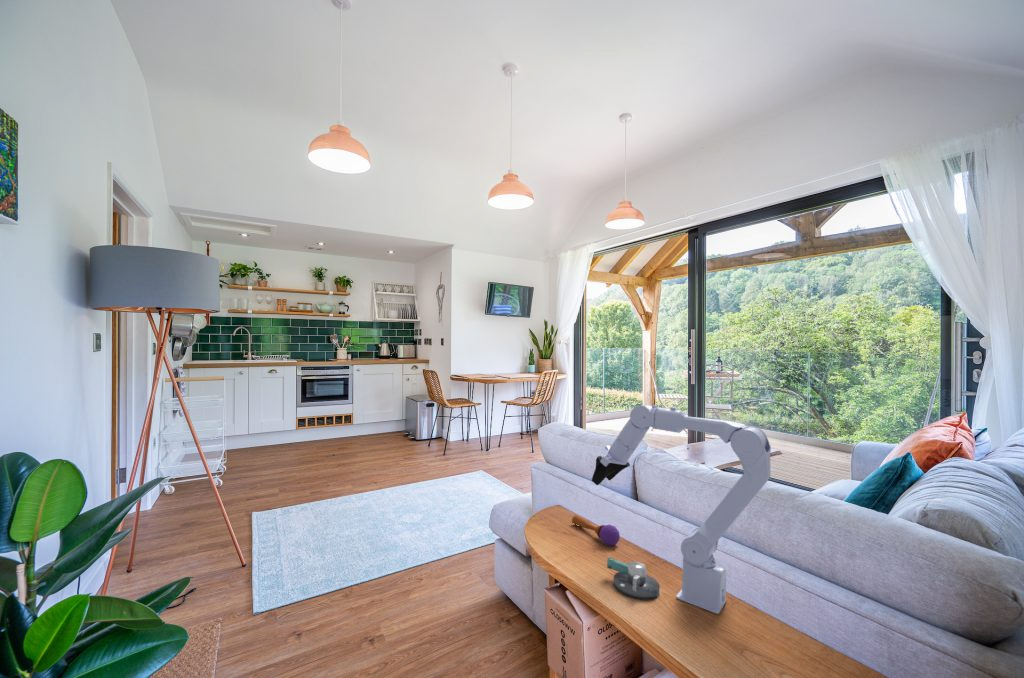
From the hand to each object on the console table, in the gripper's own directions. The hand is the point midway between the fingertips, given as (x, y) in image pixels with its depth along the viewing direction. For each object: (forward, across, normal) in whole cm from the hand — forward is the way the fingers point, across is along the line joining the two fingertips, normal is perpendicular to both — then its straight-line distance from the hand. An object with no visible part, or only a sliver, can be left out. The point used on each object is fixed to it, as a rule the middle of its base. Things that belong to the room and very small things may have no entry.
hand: (601, 480), depth 120 cm
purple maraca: (+24, -16, +4) cm, 30 cm away
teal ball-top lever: (+12, +6, +20) cm, 24 cm away
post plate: (+12, +6, +23) cm, 27 cm away
